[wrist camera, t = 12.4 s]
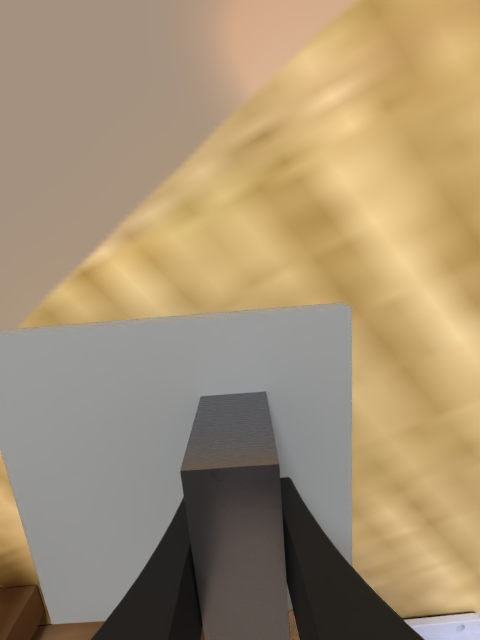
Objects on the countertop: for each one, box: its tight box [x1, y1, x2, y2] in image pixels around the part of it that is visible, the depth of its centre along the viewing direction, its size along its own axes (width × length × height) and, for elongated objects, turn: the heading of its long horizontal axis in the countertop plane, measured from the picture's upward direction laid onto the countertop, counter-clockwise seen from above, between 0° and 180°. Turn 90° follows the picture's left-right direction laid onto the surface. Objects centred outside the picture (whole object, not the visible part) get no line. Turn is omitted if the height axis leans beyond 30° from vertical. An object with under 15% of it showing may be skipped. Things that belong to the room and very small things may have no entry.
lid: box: [0, 303, 352, 640], centre depth 11 cm, size 14×14×5 cm
